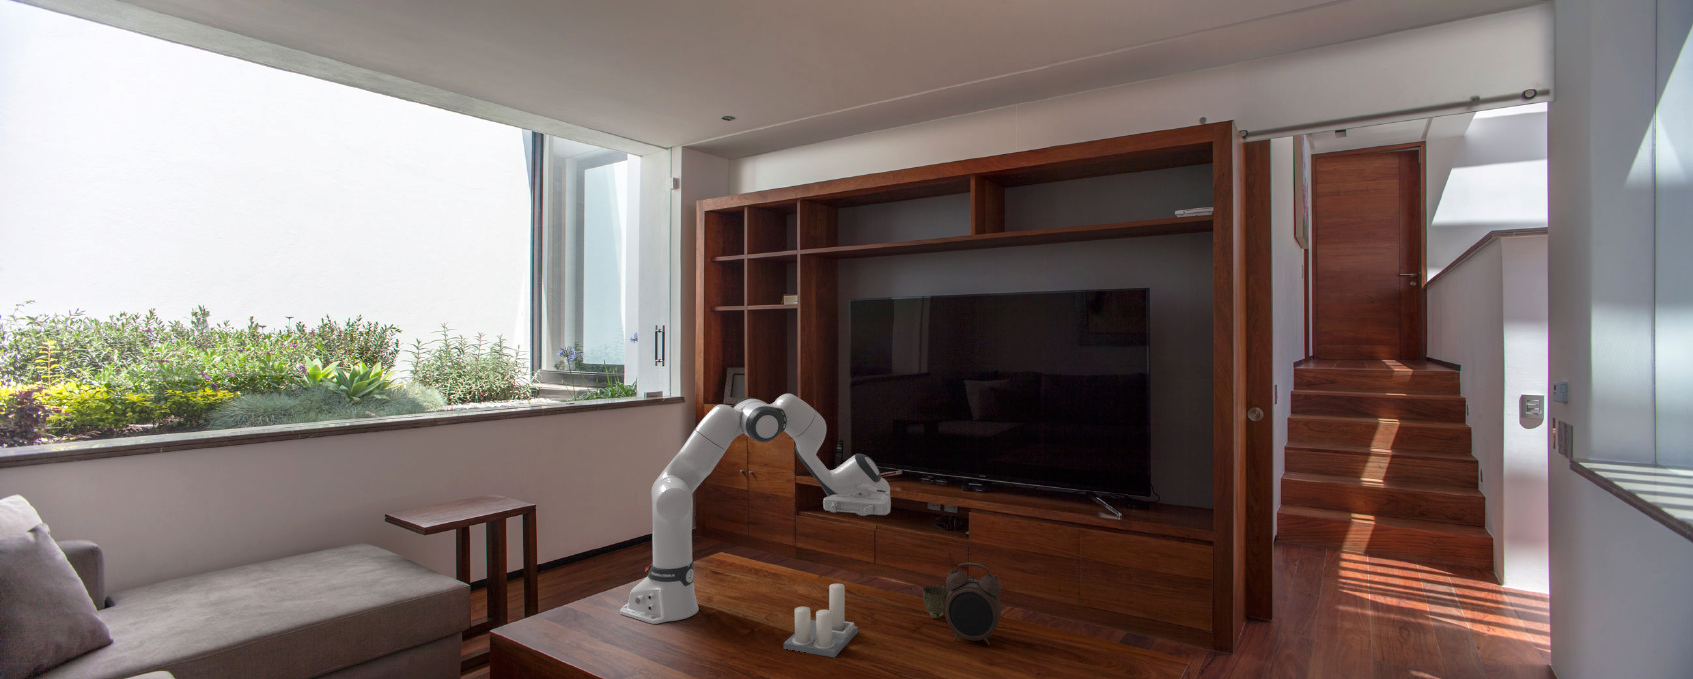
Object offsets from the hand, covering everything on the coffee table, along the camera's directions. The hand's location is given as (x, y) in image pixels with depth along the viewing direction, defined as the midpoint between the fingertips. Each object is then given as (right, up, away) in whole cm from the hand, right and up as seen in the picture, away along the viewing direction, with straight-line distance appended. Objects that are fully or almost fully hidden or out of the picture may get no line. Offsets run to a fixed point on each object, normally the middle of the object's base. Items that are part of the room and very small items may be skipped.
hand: (847, 510), depth 212 cm
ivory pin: (-3, -27, -21) cm, 34 cm away
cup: (+25, -28, -8) cm, 38 cm away
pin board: (-7, -28, -23) cm, 37 cm away
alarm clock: (+32, -28, -24) cm, 49 cm away
